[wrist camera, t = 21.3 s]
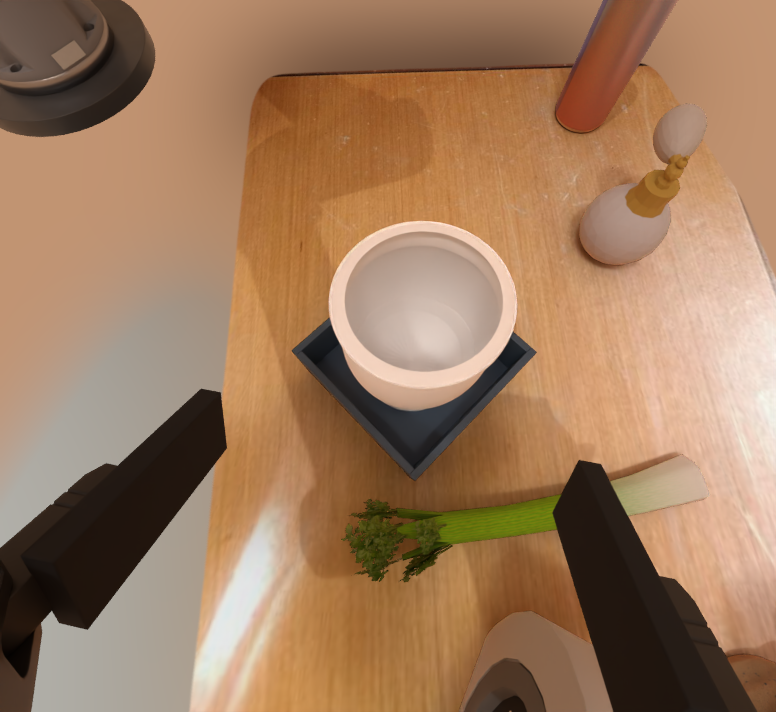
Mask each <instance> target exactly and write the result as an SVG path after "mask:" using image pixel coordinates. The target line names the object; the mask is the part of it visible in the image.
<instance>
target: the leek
mask: <svg viewBox="0 0 776 712" xmlns="http://www.w3.org/2000/svg"><path fill="white" fill-rule="evenodd" d="M610 482H611V484H612V486H613V488H614V490H615V492H616V494H617V496H618V498H619V500H620V502H621V504H622V506H623V508H624V509H625V511H626V513H627V515H628V516H631V515H636V514H641V513H646V512H650V511H655V510H659V509H664V508H669V507H673V506H678V505H682V504H687V503H691V502H696V501H700V500H704V499H705V498H707V497H709V496H710V495H709V490H708V487H707V484H706V481H705V478H704V476H703V475H702V473H701V471H700V469H699V467H698V466H697V465H696V464H695V462H693V461H692V460H690V459H689V458H687V457H686V456H684V455H683V454H682V455H679V456H677V457H674V458H672V459H669V460H667V461H665V462H662V463H660V464H657V465H655V466H652V467H650V468H647V469H645V470H642V471H640V472H637V473H635V474H632V475H630V476H627V477H623V478H619V479H616V480H612V481H610ZM560 496H561V494H560V495H555V496H550V497H545V498H540V499H536V500H531V501H526V502H521V503H516V504H511V505H505V506H496V507H486V508H477V509H467V510H458V511H448V512H433V511H423V510H412V509H401V508H396V510H395V509H391V510H389V509H390V508H389V507H390V506H387V504H388V502H380V501H378V500H376V502H375V503H374V502H372V503H373V505H372V503H370V502H371V501H372V500H371V499H368V500H367V501H368V502H369V503H370V504H369V503H368V502H364V503H367V504H368V505H367V508H365V509H368V510H367V512H362V513H363V514H362V513H360V514H361V515H359V514H358V515H357V513H352V514H351V515H350V516H352V515H353V516H355V517H356V516H357V517H359V516H360V517H359V518H364V519H368V520H367V522H366V521H364V520H361V522H360V520H359V521H358V523H359V530H358V527H357V528H356V529H355V533H354V535H355V534H356V533H359V532H360V531H361V533H362V531H363V533H366V534H363V533H362V535H358V537H357V539H356V538H355V536H354V535H353V534H352V529H353V528H352V525H350V523H349V524H348V526H347V527H346V533H348V535H347V534H346V538H344V539H341V540H343V541H345V540H346V539H348V541H351V543H350V546H351V548H352V547H353V548H357V549H353V550H352V551H351V552H350V553H352V554H353V553H355V552H357V553H356V555H355V556H356V563H359V562H360V563H361V561H364V562H363V563H362V565H363V567H366V569H367V570H368V571H367V570H366V571H365V570H364V572H363V571H362V572H361V571H360V572H357V573H355V574H358V573H359V574H360V573H361V575H362V574H365V573H367V572H368V574H369V576H368V577H372V578H373V579H372V581H378V579H379V578H380V577H381V578H380V580H379V582H380V581H381V580H382V579H383V578H384V574H385V573H386V572H388V570H387V571H385V572H384V569H385V568H384V567H386V568H387V566H388V565H390V564H391V562H392V564H393V563H395V562H396V560H394V562H393V561H391V562H389V563H390V564H389V563H388V561H387V559H389V558H390V557H391V558H390V560H391V559H392V558H393V556H394V555H396V554H393V551H397V550H398V548H399V547H398V546H396V547H394V546H395V544H399V542H400V543H402V542H403V540H402V539H404V538H408V539H418V540H417V544H420V542H421V544H420V546H421V547H419V548H416V549H414V550H412V551H409V552H407V553H405V554H402V558H403V561H404V560H407V559H409V558H413V560H411V562H409V563H411V565H408V566H406V567H405V568H406V569H408V570H406V571H405V572H404V573H405V575H406V576H405V575H404V576H405V577H404V578H403V579H405V580H404V582H408V581H409V579H410V578H409V575H411V576H413V575H415V573H416V576H417V575H418V574H420V573H421V572H422V571H423V570H425V569H426V568H427V567H430V566H433V565H434V564H435V563H436V562H434V560H435V559H437V558H438V557H436V556H438V554H439V553H440V552H439V550H442V549H444V548H446V547H448V546H449V545H451V544H458V543H466V542H473V541H481V540H489V539H496V538H504V537H511V536H519V535H525V534H532V533H538V532H545V531H551V530H557V527H556V524H555V520H554V517H553V514H552V512H553V510H554V508H555V506H556V504H557V502H558V500H559V498H560ZM374 504H376V505H374ZM369 508H370V509H369ZM377 508H378V509H377ZM387 511H388V512H387ZM390 511H392V512H394V513H392V512H390ZM393 514H396V515H393ZM388 516H397V517H398V518H407V519H415V520H418V521H416V522H412V523H407V524H403V523H399V524H401V525H399V524H396V525H393V524H391V525H390V522H389V521H390V520H389V519H391V518H392V517H388ZM383 518H389V519H388V520H387V519H386V520H385V521H384V522H383V521H381V520H383ZM419 520H420V521H419ZM380 521H381V522H380ZM386 521H387V522H386ZM387 524H388V525H387ZM394 533H396V534H395V535H394ZM365 535H366V536H365ZM351 536H353V537H351ZM364 536H365V537H364ZM372 536H373V537H372ZM363 537H364V538H363ZM361 539H364V540H363V541H361ZM360 542H361V543H360ZM426 543H427V544H426ZM447 545H448V546H447ZM444 546H445V547H444ZM442 547H443V548H442ZM451 547H452V545H451V546H449V547H448V548H446V549H444V550H443V551H441V553H443V552H444V551H446V550H448V549H449V548H451ZM437 551H438V552H439V553H438V552H437ZM435 552H437V553H436V554H434V553H435ZM390 553H392V555H391V554H390ZM441 553H440V554H441ZM440 554H439V555H440ZM417 557H420V558H417ZM374 558H375V559H374ZM402 558H400V559H401V560H402ZM362 559H363V560H362ZM373 559H374V560H375V561H374V560H373ZM400 559H399V560H400ZM399 560H398V559H397V562H398V561H399ZM426 560H427V561H426ZM373 561H374V563H375V564H373ZM424 562H425V563H424ZM377 564H378V565H377ZM363 567H362V568H363ZM382 568H383V569H382ZM414 568H417V569H418V568H419V569H418V571H417V569H414ZM380 570H383V572H382V573H381V571H380ZM415 570H416V572H414V571H415ZM412 572H414V573H413V574H411V573H412ZM404 573H403V574H404ZM355 574H354V575H355ZM359 574H358V575H359ZM382 574H383V575H382ZM351 576H352V575H351ZM373 576H374V577H373ZM407 576H408V577H407ZM403 579H401V580H403ZM401 580H400V581H401ZM400 581H399V582H400Z"/></svg>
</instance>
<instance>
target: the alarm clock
mask: <svg viewBox="0 0 776 712" xmlns="http://www.w3.org/2000/svg"><path fill="white" fill-rule="evenodd" d="M459 712H613V709H612V706H611V703H610V700H609V696H608V693H607V690H606V687H605V683H604V680H603V677H602V674H601V670H600V667H599V664H598V661H597V657H596V654H595V651H594V647H593V645H592V644H590V643H588V642H587V641H585V640H583V639H581V638H579V637H578V636H576V635H574V634H572V633H570V632H569V631H567V630H565V629H563V628H562V627H560V626H558V625H556V624H554V623H553V622H551V621H549V620H547V619H545V618H544V617H542V616H540V615H538V614H536V613H535V612H533V611H524V612H516V613H511V614H510V615H508V616H507V617H506V618H504V619H503V620H501V621H500V622H498V623H497V624H496V625H495V626H494V627H493V628H492V629H491V631H490V632H489V633H488V634H487V636H486V638H485V641H484V644H483V646H482V649H481V652H480V655H479V657H478V660H477V663H476V666H475V668H474V671H473V674H472V676H471V679H470V682H469V685H468V687H467V690H466V693H465V696H464V698H463V701H462V704H461V707H460V709H459Z"/></svg>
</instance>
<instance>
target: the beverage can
mask: <svg viewBox="0 0 776 712" xmlns="http://www.w3.org/2000/svg"><path fill="white" fill-rule="evenodd" d="M677 1H678V0H603V1H602V4H601V6H600V8H599V10H598V13H597V15H596V17H595V19H594V21H593V24H592V26H591V28H590V30H589V33H588V35H587V37H586V39H585V42H584V44H583V46H582V48H581V50H580V52H579V55H578V57H577V59H576V61H575V64H574V66H573V68H572V70H571V72H570V75H569V77H568V79H567V81H566V84H565V86H564V88H563V90H562V92H561V95H560V97H559V99H558V101H557V104H556V116H557V119H558V121H559V123H560V124H561V125H562V126H563V127H564V128H566V129H568V130H570V131H573V132H578V133H584V132H589V131H592V130H594V129H596V128H597V127H599V126H600V125H601V124H602V123H603V122H604V121H605V119H606V118H607V116H608V114H609V113H610V111H611V109H612V108H613V106H614V105H615V103H616V101H617V100H618V98H619V96H620V95H621V93H622V91H623V90H624V88H625V87H626V85H627V83H628V82H629V80H630V78H631V77H632V75H633V73H634V72H635V70H636V69H637V67H638V65H639V64H640V62H641V60H642V59H643V57H644V55H645V54H646V52H647V51H648V49H649V47H650V46H651V44H652V42H653V41H654V39H655V37H656V36H657V34H658V33H659V31H660V29H661V28H662V26H663V24H664V23H665V21H666V19H667V18H668V16H669V14H670V13H671V11H672V10H673V8H674V6H675V5H676V3H677Z"/></svg>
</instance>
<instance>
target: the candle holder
mask: <svg viewBox="0 0 776 712" xmlns="http://www.w3.org/2000/svg"><path fill="white" fill-rule="evenodd" d="M727 659H728V661H729V662H730V664H731V666H732V668H733V670H734V671H735V673H736V675H737V677H738V678H739V680H740V682H741V684H742V685H743V687H744V689H745V691H746V692H747V694H748V696H749V698H750V699H751V701H752V703H753V705H754V706H755V708H756V710H757V712H776V663H774V662H772V661H769V660H767V659H764V658H762V657H758V656H754V655H743V654H742V655H735V656H731V657H728V658H727Z"/></svg>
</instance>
